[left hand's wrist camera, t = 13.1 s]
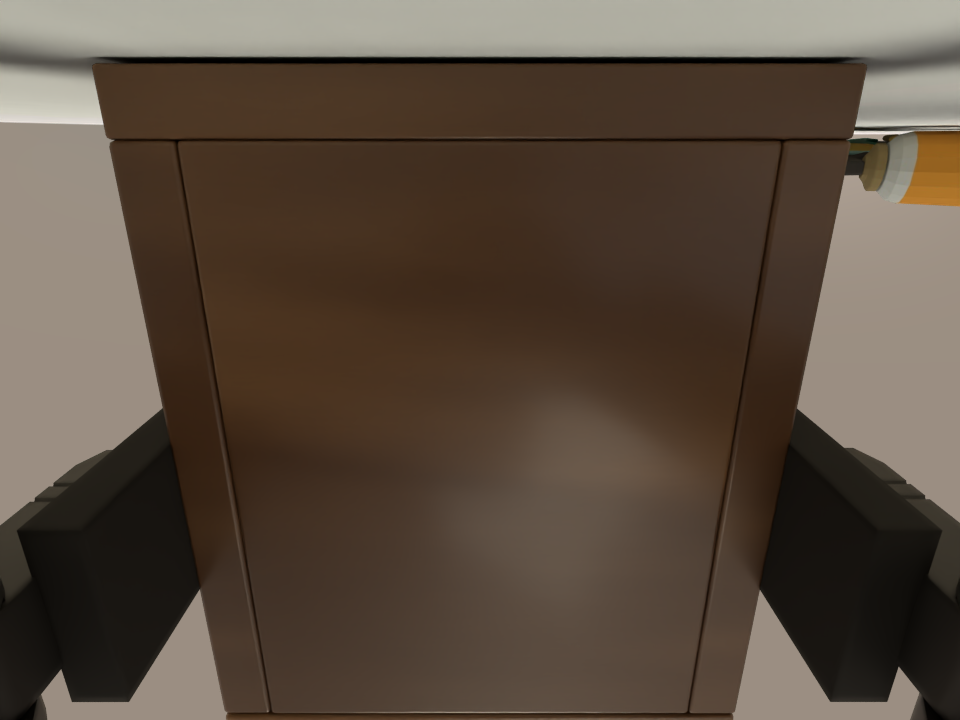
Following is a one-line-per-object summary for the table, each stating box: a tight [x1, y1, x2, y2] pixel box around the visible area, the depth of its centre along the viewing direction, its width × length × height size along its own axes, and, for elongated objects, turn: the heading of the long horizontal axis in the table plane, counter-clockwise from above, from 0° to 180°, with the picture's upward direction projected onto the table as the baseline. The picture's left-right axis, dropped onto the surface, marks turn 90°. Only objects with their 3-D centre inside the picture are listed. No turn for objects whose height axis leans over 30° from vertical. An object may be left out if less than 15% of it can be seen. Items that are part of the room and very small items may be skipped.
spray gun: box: [845, 131, 960, 206], centre depth 40 cm, size 4×17×15 cm
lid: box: [226, 709, 733, 720], centre depth 21 cm, size 18×9×8 cm, turn 0°
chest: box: [92, 63, 867, 713], centre depth 17 cm, size 18×9×11 cm, turn 0°
